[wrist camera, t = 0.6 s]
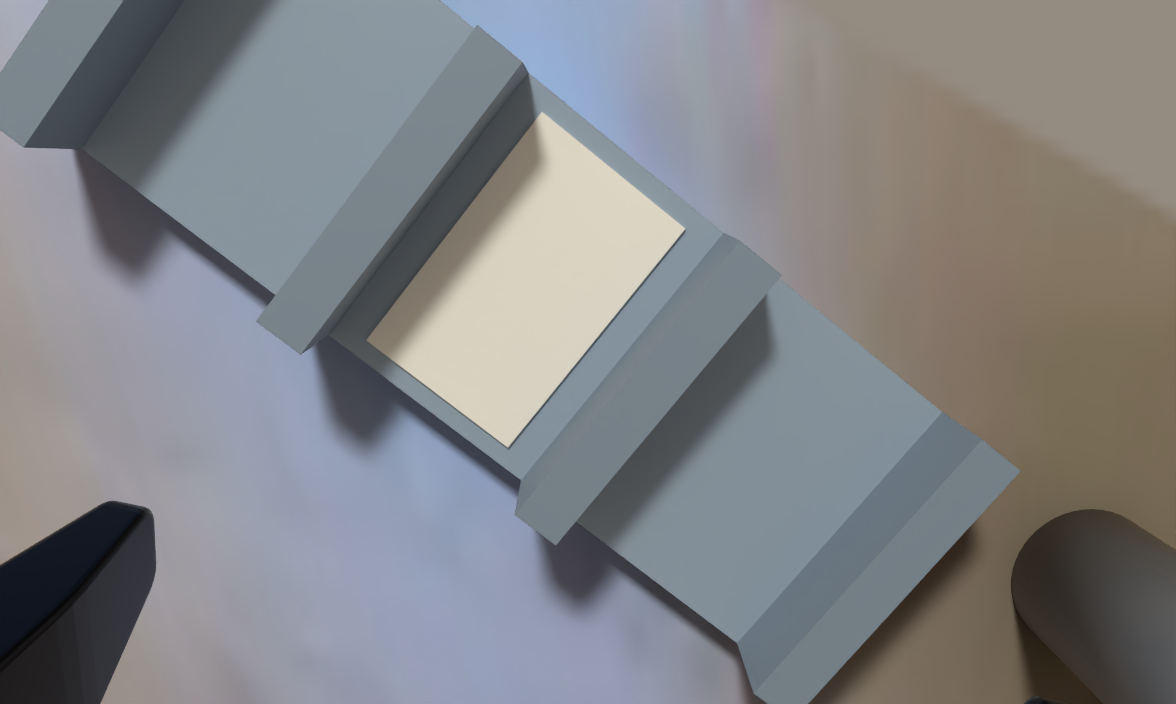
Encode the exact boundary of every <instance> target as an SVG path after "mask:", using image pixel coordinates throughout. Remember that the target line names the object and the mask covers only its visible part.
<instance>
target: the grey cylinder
mask: <svg viewBox="0 0 1176 704" xmlns="http://www.w3.org/2000/svg"><path fill="white" fill-rule="evenodd" d="M1011 588H1012V597H1013V601H1014V604H1015V607H1016V609H1017V612H1018V613H1019V615H1020V617H1021V618H1022V620H1023V621H1024V622H1025V624H1026V625H1027V626H1028V627H1029V628H1030V629H1031V630H1032V631H1033V632H1034V633H1035V634H1036V635H1037V636H1038V637H1039V638H1040V639H1041V641H1042V642H1043V643H1044V644H1045V645H1046V646H1047V647H1048V648H1049V649H1050V650H1051V651H1052V652H1053V653H1054V654H1055V655H1056V656H1057V657H1058V658H1059V659H1060V660H1061V661H1062V662H1063V663H1064V664H1065V665H1066V666H1067V667H1068V668H1069V669H1070V670H1071V671H1072V672H1073V673H1074V674H1075V676H1076V677H1077V678H1078V679H1079V680H1080V681H1081V682H1082V683H1083V684H1084V685H1085V686H1086V687H1087V688H1088V689H1089V690H1090V691H1091V692H1092V693H1093V694H1094V695H1095V696H1096V697H1097V698H1098V699H1099V700H1100V701H1101V702H1102V703H1103V704H1176V550H1175V549H1173V548H1172V547H1170V546H1169V545H1167V544H1166V543H1164V542H1162V541H1161V540H1159V539H1158V538H1156V537H1155V536H1153V535H1152V534H1150V533H1149V532H1147V531H1145V530H1144V529H1142V528H1141V527H1139V526H1138V525H1136V524H1135V523H1133V522H1132V521H1130V520H1128V519H1127V518H1125V517H1123V516H1121V515H1118V514H1115V513H1113V512H1109V511H1104V510H1094V509H1090V510H1079V511H1073V512H1070V513H1067V514H1063V515H1061V516H1059V517H1057V518H1054V519H1053V520H1051V521H1049V522H1048V523H1046V524H1045V525H1043V526H1042V527H1041V528H1039V529H1038V530H1037V531H1036V532H1035V533H1034V534H1033V535H1032V536H1031V537H1030V538H1029V539H1028V541H1027V542H1026V543H1025V544H1024V546H1023V548H1022V549H1021V551H1020V553H1019V555H1018V557H1017V559H1016V562H1015V565H1014V568H1013V573H1012V582H1011Z"/></svg>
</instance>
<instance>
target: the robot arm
mask: <svg viewBox="0 0 1176 704" xmlns="http://www.w3.org/2000/svg"><path fill="white" fill-rule="evenodd" d="M155 572H156V550H155V530H154V518H153V514H152V512H151V511H150V510H149V509H148V508H146V507H142V506H137V505H133V504H128V503H123V502H118V501H108V502H105V503H103V504H101V505H99V506H97V507H95V508H94V509H92V510H91V511H89V512H87V513H86V514H84V515H82V516H81V517H79V518H77V519H76V520H74V521H72V522H71V523H69V524H67V525H66V526H64V527H62V528H61V529H59V530H57V531H56V532H54V533H52V534H51V535H49V536H48V537H46V538H44V539H43V540H41V541H39V542H38V543H36V544H34V545H33V546H31V547H29V548H28V549H26V550H24V551H23V552H21V553H19V554H18V555H16V556H14V557H13V558H11V559H9V560H8V561H6V562H5V563H3V564H1V565H0V704H100V703H101V701H102V699H103V696H104V694H105V692H106V690H107V687H108V685H109V683H110V680H111V678H112V676H113V674H114V671H115V669H116V667H117V665H118V662H119V660H120V658H121V655H122V653H123V651H124V649H125V646H126V644H127V642H128V640H129V637H130V635H131V633H132V630H133V628H134V626H135V624H136V621H137V619H138V617H139V615H140V612H141V610H142V608H143V606H144V603H145V601H146V599H147V596H148V594H149V592H150V589H151V587H152V584H153V581H154V577H155ZM1024 704H1071V703H1068V702H1064V701H1060V700H1055V699H1050V698H1045V697H1041V696H1034V697H1032V698H1030V699H1028V700H1027V701H1026V702H1025V703H1024Z"/></svg>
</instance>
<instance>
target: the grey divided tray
mask: <svg viewBox="0 0 1176 704" xmlns="http://www.w3.org/2000/svg"><path fill="white" fill-rule="evenodd" d="M0 130H1V131H2V132H3V133H5V134H6V135H7V136H9V137H10V138H11V139H13V140H14V141H15V142H17V143H18V144H19V145H21V146H22V147H25V148H59V149H82V150H84V151H85V152H86V153H87V154H89V155H90V156H91V157H93V158H94V159H95V160H97V161H98V162H99V163H101V164H102V165H103V166H105V167H106V168H107V169H109V170H110V171H111V172H113V173H114V174H115V175H117V176H118V177H119V178H121V179H122V180H123V181H125V182H126V183H127V184H129V185H130V186H131V187H133V188H134V189H135V190H137V191H138V192H139V193H141V194H142V195H143V196H145V197H146V198H147V199H149V200H150V201H151V202H152V203H154V204H155V205H156V206H158V207H159V208H160V209H162V210H163V211H164V212H166V213H167V214H168V215H170V216H171V217H172V218H174V219H175V220H176V221H178V222H179V223H180V224H182V225H183V226H184V227H186V228H187V229H188V230H190V231H191V232H192V233H194V234H195V235H196V236H198V237H199V238H200V239H202V240H203V241H204V242H206V243H207V244H208V245H210V246H211V247H212V248H214V249H215V250H216V251H217V252H219V253H220V254H221V255H223V256H224V257H225V258H227V259H228V260H229V261H231V262H232V263H233V264H235V265H236V266H237V267H239V268H240V269H241V270H243V271H244V272H245V273H247V274H248V275H249V276H251V277H252V278H253V279H255V280H256V281H257V282H259V283H260V284H261V285H263V286H264V287H265V288H267V289H268V290H269V291H271V292H272V293H273V294H275V296H274V298H273V299H272V300H271V302H270V303H269V304H268V306H267V307H266V309H265V310H264V311H263V313H262V314H261V315H260V317H259V318H258V319H257V321H256V322H257V323H259V324H260V325H262V326H263V327H264V328H266V329H267V330H268V331H270V332H271V333H272V334H274V335H275V336H276V337H278V338H279V339H280V340H282V341H283V342H284V343H286V344H287V345H288V346H290V347H291V348H292V349H294V350H295V351H296V352H298V353H299V354H300V355H301V354H302V353H304V352H305V351H307V350H308V349H310V348H311V347H312V346H314V345H315V344H317V343H318V342H320V341H321V340H323V339H324V338H326V337H327V336H328V335H329V336H330V337H332V338H333V339H334V340H336V341H337V342H338V343H340V344H341V345H342V346H343V347H345V348H346V349H347V350H349V351H350V352H351V353H353V354H354V355H355V356H357V357H358V358H359V359H361V360H362V361H363V362H365V363H366V364H367V365H369V366H370V367H371V368H373V369H374V370H375V371H377V372H378V373H379V374H381V375H382V376H383V377H385V378H386V379H387V380H389V381H390V382H391V383H393V384H394V385H395V386H397V387H398V388H399V389H401V390H402V391H403V392H405V393H406V394H407V395H408V396H410V397H411V398H412V399H414V400H415V401H416V402H418V403H419V404H420V405H422V406H423V407H424V408H426V409H427V410H428V411H430V412H431V413H432V414H434V415H435V416H436V417H438V418H439V419H440V420H442V421H443V422H444V423H446V424H447V425H448V426H450V427H451V428H452V429H454V430H455V431H456V432H458V433H459V434H460V435H462V436H463V437H464V438H466V439H467V440H468V441H470V442H471V443H472V444H473V445H475V446H476V447H477V448H479V449H480V450H481V451H483V452H484V453H485V454H487V455H488V456H489V457H491V458H492V459H493V460H495V461H496V462H497V463H499V464H500V465H501V466H503V467H504V468H505V469H507V470H508V471H509V472H511V473H512V474H513V475H515V476H516V477H517V478H519V479H520V480H521V483H520V488H519V494H518V499H517V505H516V510H515V515H516V516H517V517H518V518H520V519H521V520H522V521H524V522H525V523H526V524H528V525H529V526H530V527H532V528H533V529H534V530H536V531H537V532H538V533H540V534H541V535H542V536H544V537H545V538H546V539H548V540H549V541H550V542H552V543H553V544H554V545H557V543H558V542H559V541H560V540H561V539H562V537H563V536H564V535H565V534H566V533H567V532H568V530H569V529H570V528H571V527H572V526H573V524H574V523H575V522H577V523H578V524H580V525H581V526H582V527H584V528H585V529H586V530H588V531H589V532H590V533H592V534H593V535H594V536H596V537H597V538H598V539H599V540H601V541H602V542H603V543H605V544H606V545H607V546H609V547H610V548H611V549H613V550H614V551H615V552H617V553H618V554H619V555H621V556H622V557H623V558H625V559H626V560H627V561H629V562H630V563H631V564H633V565H634V566H635V567H637V568H638V569H639V570H641V571H642V572H643V573H645V574H646V575H647V576H649V577H650V578H651V579H653V580H654V581H655V582H657V583H658V584H659V585H661V586H662V587H663V588H664V589H666V590H667V591H668V592H670V593H671V594H672V595H674V596H675V597H676V598H678V599H679V600H680V601H682V602H683V603H684V604H686V605H687V606H688V607H690V608H691V609H692V610H694V611H695V612H696V613H698V614H699V615H700V616H702V617H703V618H704V619H706V620H707V621H708V622H710V623H711V624H712V625H714V626H715V627H716V628H718V629H719V630H720V631H722V632H723V633H724V634H726V635H727V636H728V637H729V638H731V639H732V640H733V641H735V642H736V643H737V645H738V648H739V651H740V654H741V657H742V660H743V663H744V666H745V669H746V672H747V675H748V678H749V681H750V684H751V687H752V690H753V693H754V694H755V695H756V696H758V697H759V698H760V699H762V700H763V701H764V702H766V703H767V704H808V703H809V702H810V701H811V700H812V699H813V698H814V697H815V696H816V695H817V694H818V692H819V691H820V690H821V689H822V688H823V687H824V686H825V685H826V684H827V683H828V681H829V680H830V679H831V678H832V677H833V676H834V675H835V674H836V673H837V672H838V671H839V669H840V668H841V667H842V666H843V665H844V664H845V663H846V662H847V661H848V660H849V659H850V657H851V656H852V655H853V654H854V653H855V652H856V651H857V650H858V649H859V648H860V646H861V645H862V644H863V643H864V642H865V641H866V640H867V639H868V638H869V637H870V636H871V634H872V633H873V632H874V631H875V630H876V629H877V628H878V627H879V626H880V625H881V623H882V622H883V621H884V620H885V619H886V618H887V617H888V616H889V615H890V614H891V613H892V611H893V610H894V609H895V608H896V607H897V606H898V605H899V604H900V603H901V602H902V600H903V599H904V598H905V597H906V596H907V595H908V594H909V593H910V592H911V591H912V590H913V588H914V587H915V586H916V585H917V584H918V583H919V582H920V581H921V580H922V579H923V577H924V576H925V575H926V574H927V573H928V572H929V571H930V570H931V569H932V568H933V567H934V565H935V564H936V563H937V562H938V561H939V560H940V559H941V558H942V557H943V556H944V554H945V553H946V552H947V551H948V550H949V549H950V548H951V547H952V546H953V545H954V544H955V542H956V541H957V540H958V539H959V538H960V537H961V536H962V535H963V534H964V533H965V531H966V530H967V529H968V528H969V527H970V526H971V525H972V524H973V523H974V522H975V521H976V519H977V518H978V517H979V516H980V515H981V514H982V513H983V512H984V511H985V510H986V508H987V507H988V506H989V505H990V504H991V503H992V502H993V501H994V500H995V499H996V498H997V496H998V495H999V494H1000V493H1001V492H1002V491H1003V490H1004V489H1005V488H1006V487H1007V485H1008V484H1009V483H1010V482H1011V481H1012V480H1013V479H1014V478H1015V477H1016V476H1017V475H1018V473H1019V472H1020V470H1019V469H1017V468H1016V467H1015V466H1014V465H1013V464H1011V463H1010V462H1009V461H1008V460H1006V459H1005V458H1004V457H1003V456H1002V455H1000V454H999V453H998V452H997V451H996V450H994V449H993V448H992V447H991V446H989V445H988V444H987V443H986V442H985V441H983V440H982V439H981V438H979V437H978V436H976V435H975V434H973V433H972V432H970V431H969V430H967V429H966V428H965V427H963V426H962V425H960V424H959V423H957V422H956V421H954V420H953V419H951V418H950V417H948V416H947V415H946V414H944V413H943V412H941V411H940V410H939V409H938V408H936V407H935V406H934V405H933V404H932V403H930V402H929V401H928V400H927V399H925V398H924V397H923V396H922V395H921V394H919V393H918V392H917V391H916V390H914V389H913V388H912V387H911V386H910V385H908V384H907V383H906V382H905V381H904V380H902V379H901V378H900V377H899V376H897V375H896V374H895V373H894V372H893V371H891V370H890V369H889V368H888V367H886V366H885V365H884V364H883V363H882V362H880V361H879V360H878V359H877V358H875V357H874V356H873V355H872V354H871V353H869V352H868V351H867V350H866V349H865V348H863V347H862V346H861V345H860V344H858V343H857V342H856V341H855V340H854V339H852V338H851V337H850V336H849V335H847V334H846V333H845V332H844V331H843V330H841V329H840V328H839V327H838V326H836V325H835V324H834V323H833V322H832V321H830V320H829V319H828V318H827V317H825V316H824V315H823V314H822V313H821V312H819V311H818V310H817V309H816V308H815V307H813V306H812V305H811V304H810V303H808V302H807V301H806V300H805V299H804V298H802V297H801V296H800V295H799V294H797V293H796V292H795V291H794V290H793V289H791V288H790V287H789V286H788V285H786V284H785V283H784V282H783V281H782V280H780V279H779V278H780V277H781V276H782V275H781V274H780V273H779V272H778V271H776V270H775V269H774V268H773V267H771V266H770V265H769V264H768V263H767V262H765V261H764V260H763V259H762V258H760V257H759V256H758V255H757V254H756V253H754V252H753V251H752V250H751V249H750V248H748V247H747V246H746V245H745V244H743V243H742V242H741V241H739V240H737V239H735V238H733V237H731V236H729V235H727V234H725V233H723V232H722V231H721V230H719V229H718V228H717V227H716V226H715V225H713V224H712V223H711V222H710V221H708V220H707V219H706V218H705V217H704V216H702V215H701V214H700V213H699V212H697V211H696V210H695V209H694V208H693V207H691V206H690V205H689V204H688V203H687V202H685V201H684V200H683V199H682V198H680V197H679V196H678V195H677V194H676V193H674V192H673V191H672V190H671V189H669V188H668V187H667V186H666V185H665V184H663V183H662V182H661V181H660V180H658V179H657V178H656V177H655V176H654V175H652V174H651V173H650V172H649V171H647V170H646V169H645V168H644V167H643V166H641V165H640V164H639V163H638V162H637V161H635V160H634V159H633V158H632V157H630V156H629V155H628V154H627V153H626V152H624V151H623V150H622V149H621V148H619V147H618V146H617V145H616V144H615V143H613V142H612V141H611V140H610V139H608V138H607V137H606V136H605V135H604V134H602V133H601V132H600V131H599V130H597V129H596V128H595V127H594V126H593V125H591V124H590V123H589V122H588V121H587V120H585V119H584V118H583V117H582V116H580V115H579V114H578V113H577V112H576V111H574V110H573V109H572V108H571V107H569V106H568V105H567V104H566V103H565V102H563V101H562V100H561V99H560V98H558V97H557V96H556V95H555V94H554V93H552V92H551V91H550V90H549V89H548V88H546V87H545V86H544V85H543V84H541V83H540V82H539V81H538V80H537V79H535V78H534V77H533V76H532V75H530V74H529V73H528V71H527V69H526V67H525V66H524V64H523V62H522V61H521V60H519V59H518V58H517V57H516V56H514V55H513V54H512V53H511V52H510V51H508V50H507V49H506V48H505V47H504V46H502V45H501V44H500V43H499V42H497V41H496V40H495V39H494V38H493V37H491V36H490V35H489V34H488V33H486V32H485V31H484V30H483V29H482V28H480V27H479V26H478V25H477V26H476V27H475V28H473V27H472V26H471V25H469V24H468V23H467V22H466V21H465V20H463V19H462V18H461V17H460V16H459V15H457V14H456V13H455V12H454V11H452V10H451V9H450V8H449V7H448V6H446V5H445V4H444V3H443V2H441V1H440V0H49V1H48V2H47V4H46V5H45V7H44V8H43V10H42V11H41V13H40V14H39V16H38V17H37V19H36V20H35V22H34V23H33V25H32V26H31V28H30V29H29V31H28V32H27V34H26V35H25V37H24V38H23V40H22V41H21V43H20V44H19V46H18V47H17V49H16V50H15V52H14V53H13V55H12V56H11V58H10V59H9V61H8V62H7V64H6V65H5V67H4V68H3V70H2V71H1V73H0Z"/></svg>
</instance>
